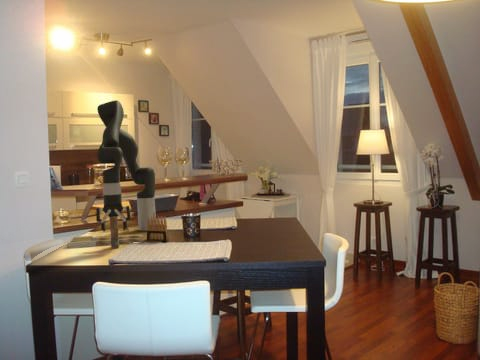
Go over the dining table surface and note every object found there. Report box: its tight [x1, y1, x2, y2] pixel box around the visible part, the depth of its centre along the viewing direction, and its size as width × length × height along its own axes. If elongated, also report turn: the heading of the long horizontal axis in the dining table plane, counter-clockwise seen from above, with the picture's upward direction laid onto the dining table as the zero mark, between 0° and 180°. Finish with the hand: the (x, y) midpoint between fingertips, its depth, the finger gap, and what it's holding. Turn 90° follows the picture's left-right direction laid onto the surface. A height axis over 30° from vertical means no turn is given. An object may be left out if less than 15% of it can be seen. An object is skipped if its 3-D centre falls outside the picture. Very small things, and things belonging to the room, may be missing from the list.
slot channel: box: [95, 234, 144, 247], centre depth 219 cm, size 20×12×3 cm, turn 99°
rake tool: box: [109, 216, 120, 250], centre depth 207 cm, size 3×5×14 cm, turn 10°
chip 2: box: [82, 235, 94, 242], centre depth 216 cm, size 4×4×4 cm
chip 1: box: [72, 236, 83, 242], centre depth 216 cm, size 4×4×4 cm
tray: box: [67, 236, 100, 249], centre depth 216 cm, size 12×10×3 cm
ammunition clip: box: [146, 215, 169, 243], centre depth 221 cm, size 11×2×12 cm, turn 68°
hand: (114, 230), depth 207 cm, fingers open, 8 cm apart
